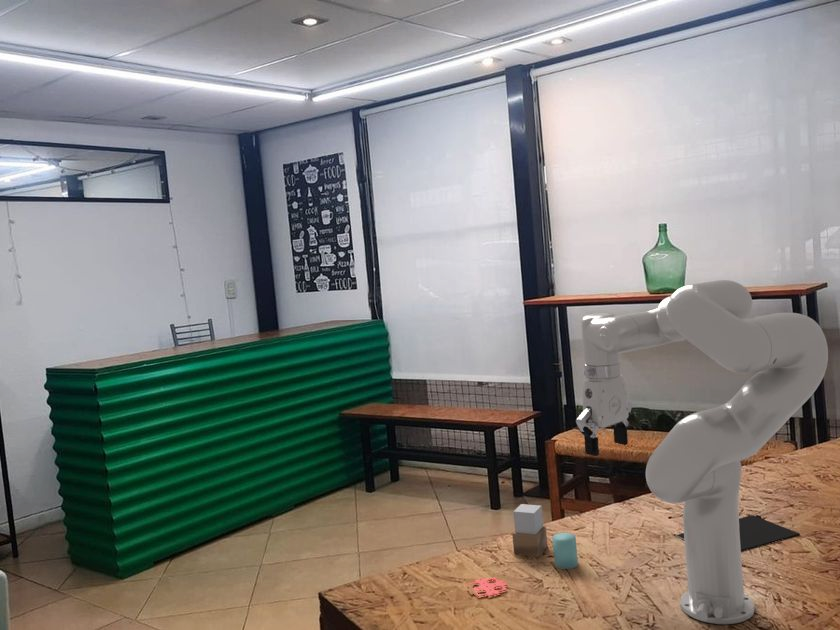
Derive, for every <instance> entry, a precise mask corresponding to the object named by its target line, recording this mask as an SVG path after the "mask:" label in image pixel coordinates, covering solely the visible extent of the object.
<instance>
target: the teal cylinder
mask: <svg viewBox="0 0 840 630" xmlns="http://www.w3.org/2000/svg"><path fill="white" fill-rule="evenodd" d="M552 548H553V558H554V559H553V560H554V561H553V562H554V566H555V567H556V568H558V569H561V568H562V570H570V569H574V568H576V567H577V566H578V565H579V562H578V561H579V560H578V550H577V539H576V535H575V534H573V533H569V532H562V533H556V534H554V535H553V536H552Z"/></svg>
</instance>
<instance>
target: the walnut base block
mask: <svg viewBox="0 0 840 630" xmlns="http://www.w3.org/2000/svg"><path fill="white" fill-rule="evenodd" d="M511 535H512V544H513V554H514V553H516V554H515V555H519V554H521V555H520V556H529V557H537V558H539V557H540V556H541V555H542V554H543V552H545V550H546V549H547V548H548V538H547V537H548V535H547V527H546V525H543V528H542V529H541V530H540V531H539V532H538V533H537V534H536V535H534V534H525V533H515V530H514V531H513V532H512V533H511Z"/></svg>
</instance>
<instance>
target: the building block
mask: <svg viewBox="0 0 840 630" xmlns="http://www.w3.org/2000/svg"><path fill="white" fill-rule="evenodd" d="M492 580H493V581H495V582H490V583H488V581H492ZM474 581H475V582H474ZM473 583H476V584H480V586H473V587H474V588H473V589H474V590H476V591H474V592H476V594H477V596H478V597H479V596H485V595H487V596H488V597H489V596H494V595H497V594H500V592H502V591H506V590H507V591H508V589H507V588H505V587H504V586H507V587H508V584H507V583H506V582H505V581H504V580H503V579H500V580H498V579H497V577H495V576H494V577H490V578H487V577H484V578H479V579H474V580H473V582H469V583H468V584H471V585H472V584H473ZM469 586H470V585H469ZM471 587H472V586H471ZM496 587H501V588H502V589H496V590H495V588H496ZM481 590H483V591H486V593H479V594H478V591H481ZM500 595H501V594H500Z"/></svg>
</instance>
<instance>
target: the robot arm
mask: <svg viewBox="0 0 840 630" xmlns="http://www.w3.org/2000/svg"><path fill="white" fill-rule="evenodd" d="M752 309H753V299H752V295H751V293H750V292H749V290H748V289H747V288H746V287H745V286H744V285H742V284H741V283H738V282H737V281H734V280H726V279H721V280H712V281H706V282H699V283H698V282H697V283H690V284H686V285H683V286H681V287H679V288H678V289H676V290H675V291H674V292H673V293H672V294H671V295H670V296H667V297H665V298H663V299H662V300H661V301H660V303H659V304H658V306H657V308H655V309H650V310H648V311H647V310H646V311H640V312H633V313H627V314H621V315H615V314H613V313H609V312H608V313H607V312H599V313H598V312H597V313H591V314H590V313H589V314H586V315H584V316H583V317H582V319H581V339H582V352H583V354H582V355H583V369H584V370H583V376H584V380H583V388H582V412H581V413H580V414H579V415H578V417H577V418H576V419H575V423H576V425H577V428H578V431H579V432H580V433H581V435H582V437H583V438H584V450H585V451H584V453H585V454H587V455H589V456H594V457H598V456H599V454H600V450H599V437H597V434H598V431H599V429H600V428H601V429H603V428H607V427H608V428H609V427H611V426H613V442H614V443H615V444H618V445H623V446H627V445H628V444H629V441H628V440H629V438H628V426H629V423H630V422H629V420H630V418H631V411H632V408H633V404H632V403H631V402H629V401H628V394H627V388H626V383H625V379H624V376H623V374H622V373H621V356H620V355H621V354H624V353H629V352H634V351H639V350H645V349H651V348H655V347H659V346H662V345H663V346H664V345H667V344H668V345H669V344H672V343H674V342H683V341H687V342H688V343H690V344H691V345H692V346H695V347H696V348H697V349H698V350H700V351H701V352H702V353H704V354H705V355H706V356H708V357H709V358H710V359H712V360H713V361H714V362H715V363H717V364H718V365H720V366H721V367H723V368H724V369H726V370H728V371H731V373H736V374H740V375H747V374H748V375H749V374H754V375H753V376H751V378H749V379H748V380H747V381H746V382H745V383H744V384H743V385H742V386H741V387H740V389H739V390H738V391H737V392H736V393H735V395H733V396H732V398H730V400H728V401H727V402H726V403H724V404H722V405H718V406H716V407H711V408H709V409H705V410H701V411H700V410H699V411H697V412H693V413H690V414H689V415H686V416H685V417H683V418H682V419H680V420H679V421H678V422H677V423H676V424H675V425H674V426H673V428H672V429H671V430H670V431H669V432H668V433H667V435H665V437H664V438H663V440H662V441H661V442H660V443H659V444H658V446H657V447H656V448H655V449H654V451H652V454H650V457H649V458H648V461H647V463H646V466H645V467H646V468H645V479H646V480H645V481H646V483H647V486H648V488H649V490H650V492H651V493H652V494H653V495H654V496H655V498H657V499H658V500H660V501H662V502H665V503H668V504H680V503H684V504H683V510H682V522H683V525H682V526H683V527H682V528H683V533H684V540H685V541H684V540H683V541H684V549H685V550H684V551H685V552H684V553H685V563H686V564H685V565H686V580H687V591H685V592H684V593H683V594H682V595H681V596H680V600H679V601H680V607H681V610H683V612H684V613H686V614H687V615H688V616H689V617H691V618H693V619H696V620H698V621H701V622H704V623H709V624H715V625H716V624H717V625H734V624H740V623H743V622H745V621H747V620H749V619H750V618H752V617H753V615H754V614H755V604H754V602H753V600H752V599H751V598H750V597H749V596H748V595H746V594H744V593H745V591H744V577H743V563H742V552H741V547H740V533H739V518H740V516H739V497H740V496H739V495H740V486H741V480H742V463H741V461H744V460H746V459H750V458H751V457H753V456H755V455H756V454H758V452H759V451H760V450H761V449H762V448H763V447H764V446H765V444H767V442H769V440H771V438H773V436H774V435H775V434H777V432H779V430H780V429H781V428H782V427H783V426H784V425H785V424H786V422H787V421H789V419H790V418H791V417H792V416H793V415H794V414H795V413H796V412H797V411H798V410H799V409H801V407H803V406H804V404H805V403H806V402H807V401H808V400H809V399H810V398H811V397H812V395H813V394H814V393H815V392H816V390H817V389H818V387H819V386H820V384H821V382H822V380H823V379H824V377H825V373H826V370H827V367H828V364H829V363H828V362H829V361H828V360H829V347H828V342H827V338H826V336H825V333H824V332H823V329H822V328H821V327H820V325H819V324H818V322H816V320H814V319H813V318H811V317H810V316H808V315H805V314H801V313H797V312H776V313H771V314H765V315H759V316H753V317H749V316H750V314H751V312H752ZM591 427H592V429H591Z"/></svg>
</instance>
